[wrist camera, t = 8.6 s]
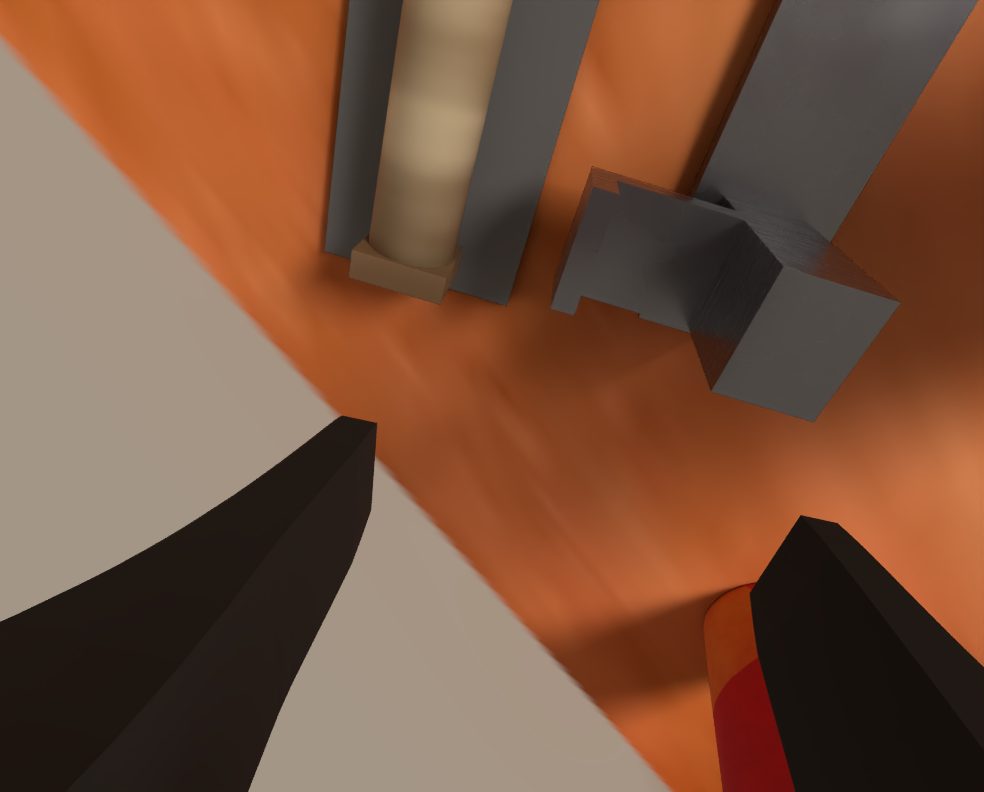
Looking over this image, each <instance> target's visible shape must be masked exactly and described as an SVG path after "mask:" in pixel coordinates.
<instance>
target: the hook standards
mask: <svg viewBox="0 0 984 792" xmlns="http://www.w3.org/2000/svg"><path fill="white" fill-rule="evenodd" d="M977 2H978V0H775V3H774V5H773V7H772V9H771V12H770V14H769V16H768V18H767V21H766V23H765V25H764V27H763V30H762V32H761V34H760V36H759V38H758V41H757V43H756V45H755V47H754V50H753V52H752V54H751V56H750V59H749V61H748V63H747V65H746V68H745V70H744V72H743V74H742V76H741V79H740V81H739V83H738V85H737V88H736V90H735V92H734V94H733V97H732V99H731V101H730V103H729V106H728V108H727V110H726V112H725V115H724V117H723V119H722V121H721V123H720V126H719V128H718V130H717V132H716V135H715V137H714V139H713V141H712V144H711V146H710V148H709V150H708V153H707V155H706V157H705V159H704V162H703V164H702V166H701V168H700V170H699V173H698V175H697V177H696V179H695V182H694V184H693V186H692V188H691V191H690V193H689V195H688V196H686V195H683V194H680V193H677V192H674V191H670V190H667V189H664V188H661V187H658V186H654V185H651V184H648V183H645V182H641V181H638V180H635V179H632V178H629V177H625V176H622V175H619V174H616V173H613V172H609V171H606V170H603V169H600V168H596V167H593V166H592V168H591V171H590V173H589V176H588V179H587V182H586V185H585V188H584V191H583V194H582V197H581V200H580V203H579V205H578V208H577V211H576V214H575V217H574V220H573V223H572V226H571V229H570V232H569V235H568V237H567V240H566V243H565V246H564V249H563V252H562V255H561V258H560V261H559V264H558V267H557V269H556V272H555V275H554V282H553V291H552V300H551V308H550V309H553V310H556V311H560V312H563V313H566V314H570V315H573V316H574V314H575V311H576V309H577V306H578V303H579V301H580V298H581V296H584V297H587V298H590V299H594V300H597V301H600V302H604V303H607V304H610V305H613V306H617V307H620V308H623V309H627V310H630V311H633V312H636V313H638V316H639V318H642V319H645V320H648V321H651V322H655V323H658V324H661V325H665V326H668V327H671V328H675V329H678V330H681V331H684V332H688V333H691V336H692V339H693V342H694V345H695V347H696V350H697V353H698V356H699V359H700V362H701V364H702V367H703V370H704V373H705V376H706V379H707V381H708V384H709V387H710V390H711V392H714V393H717V394H721V395H724V396H727V397H731V398H734V399H737V400H741V401H744V402H747V403H750V404H754V405H757V406H760V407H764V408H767V409H770V410H774V411H777V412H780V413H784V414H787V415H790V416H794V417H797V418H800V419H804V420H807V421H810V422H814V421H815V420H816V418H817V417H818V416H819V414H820V413H821V411H822V410H823V409H824V407H825V406H826V405H827V403H828V402H829V401H830V399H831V398H832V396H833V395H834V394H835V392H836V391H837V390H838V388H839V387H840V385H841V384H842V383H843V381H844V380H845V379H846V377H847V376H848V374H849V373H850V372H851V370H852V369H853V368H854V366H855V365H856V363H857V362H858V361H859V359H860V358H861V357H862V355H863V354H864V353H865V351H866V350H867V348H868V347H869V346H870V344H871V343H872V342H873V340H874V339H875V337H876V336H877V335H878V333H879V332H880V331H881V329H882V328H883V326H884V325H885V324H886V322H887V321H888V320H889V318H890V317H891V315H892V314H893V313H894V311H895V310H896V309H897V307H898V306H899V305H900V302H899V301H898V300H897V299H896V298H895V297H894V296H892V295H891V294H890V293H889V292H888V291H887V290H885V289H884V288H883V287H882V286H881V285H880V284H878V283H877V282H876V281H875V280H874V279H873V278H871V277H870V276H869V275H868V274H867V273H866V272H865V271H863V270H862V269H861V268H860V267H859V266H858V265H856V264H855V263H854V262H853V261H852V260H851V259H849V258H848V257H847V256H846V255H845V254H844V253H843V252H841V251H840V250H839V249H838V248H837V247H836V246H834V245H833V244H832V243H831V240H832V238H833V237H834V235H835V234H836V232H837V230H838V229H839V227H840V225H841V224H842V222H843V221H844V219H845V217H846V216H847V214H848V212H849V211H850V209H851V207H852V206H853V204H854V203H855V201H856V199H857V198H858V196H859V194H860V193H861V191H862V189H863V188H864V186H865V185H866V183H867V181H868V180H869V178H870V176H871V175H872V173H873V172H874V170H875V168H876V167H877V165H878V163H879V162H880V160H881V158H882V157H883V155H884V154H885V152H886V150H887V149H888V147H889V145H890V144H891V142H892V141H893V139H894V137H895V136H896V134H897V132H898V131H899V129H900V127H901V126H902V124H903V123H904V121H905V119H906V118H907V116H908V114H909V113H910V111H911V109H912V108H913V106H914V105H915V103H916V101H917V100H918V98H919V96H920V95H921V93H922V92H923V90H924V88H925V87H926V85H927V83H928V82H929V80H930V78H931V77H932V75H933V74H934V72H935V70H936V69H937V67H938V65H939V64H940V62H941V61H942V59H943V57H944V56H945V54H946V52H947V51H948V49H949V47H950V46H951V44H952V43H953V41H954V39H955V38H956V36H957V34H958V33H959V31H960V29H961V28H962V26H963V25H964V23H965V21H966V20H967V18H968V16H969V15H970V13H971V12H972V10H973V8H974V7H975V5H976V3H977Z"/></svg>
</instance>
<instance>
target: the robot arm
mask: <svg viewBox="0 0 984 792" xmlns="http://www.w3.org/2000/svg"><path fill="white" fill-rule="evenodd" d="M376 433H377V423H374V422H369V421H365V420H360V419H356V418H351V417H346V416H341V417H339V418H337V419H336V420H334V421H333V422H332V423H330V424H329V425H328V426H326V427H325V428H324V429H323V430H321V431H320V432H319V433H318V434H316V435H315V436H314V437H312V438H311V439H310V440H309V441H307V442H306V443H305V444H303V445H302V446H301V447H299V448H298V449H297V450H296V451H294V452H293V453H292V454H290V455H289V456H288V457H286V458H285V459H284V460H282V461H281V462H280V463H278V464H277V465H275V466H274V467H273V468H271V469H270V470H268V471H267V472H266V473H264V474H263V475H261V476H260V477H259V478H258V479H256V480H255V481H253V482H252V483H250V484H249V485H248V486H246V487H245V488H243V489H242V490H240V491H239V492H237V493H236V494H235V495H233V496H231V497H230V498H228V499H227V500H225V501H224V502H222V503H221V504H219V505H218V506H216V507H215V508H213V509H211V510H210V511H208V512H207V513H205V514H204V515H202V516H201V517H199V518H198V519H196V520H194V521H193V522H191V523H190V524H188V525H187V526H185V527H183V528H182V529H180V530H179V531H177V532H175V533H173V534H172V535H170V536H169V537H167V538H165V539H163V540H162V541H160V542H158V543H156V544H155V545H153V546H151V547H150V548H148V549H146V550H144V551H142V552H140V553H139V554H137V555H135V556H133V557H131V558H129V559H128V560H126V561H124V562H122V563H121V564H119V565H117V566H115V567H113V568H111V569H109V570H107V571H105V572H103V573H101V574H99V575H98V576H95V577H94V578H91V579H90V580H87V581H85V582H83V583H81V584H80V585H77V586H75V587H73V588H71V589H69V590H67V591H65V592H63V593H61V594H58V595H56V596H54V597H52V598H50V599H48V600H46V601H44V602H42V603H40V604H38V605H36V606H33V607H31V608H29V609H27V610H25V611H23V612H21V613H19V614H17V615H15V616H12V617H10V618H8V619H6V620H3V621H1V622H0V792H248V790H249V788H250V785H251V783H252V780H253V777H254V775H255V772H256V770H257V767H258V765H259V762H260V760H261V757H262V755H263V752H264V749H265V747H266V744H267V742H268V739H269V737H270V734H271V731H272V729H273V727H274V724H275V721H276V719H277V716H278V714H279V712H280V709H281V707H282V705H283V703H284V700H285V698H286V696H287V694H288V691H289V689H290V687H291V685H292V683H293V681H294V679H295V677H296V675H297V673H298V671H299V669H300V667H301V665H302V663H303V661H304V659H305V657H306V655H307V653H308V651H309V649H310V647H311V645H312V643H313V641H314V639H315V637H316V635H317V633H318V631H319V629H320V627H321V625H322V623H323V620H324V619H325V617H326V615H327V613H328V611H329V609H330V607H331V605H332V603H333V601H334V599H335V597H336V595H337V593H338V591H339V589H340V587H341V585H342V582H343V580H344V578H345V576H346V574H347V572H348V570H349V568H350V566H351V564H352V562H353V559H354V556H355V553H356V551H357V548H358V545H359V543H360V540H361V537H362V535H363V532H364V529H365V526H366V523H367V520H368V517H369V515H370V512H371V503H372V490H373V476H374V461H375V447H376ZM749 594H750V603H751V611H752V620H753V628H754V635H755V641H756V648H757V654H758V658H759V661H760V665H761V669H762V673H763V677H764V681H765V684H766V688H767V692H768V695H769V699H770V703H771V706H772V710H773V714H774V717H775V721H776V724H777V728H778V732H779V735H780V739H781V742H782V746H783V750H784V753H785V757H786V760H787V764H788V768H789V771H790V775H791V778H792V782H793V786H794V789H795V792H984V667H983V666H982V665H981V664H980V663H979V662H978V661H977V660H976V659H975V658H974V657H973V656H972V655H971V654H969V653H968V652H967V651H966V650H965V649H964V648H963V647H962V646H961V645H960V644H959V643H958V642H957V641H956V640H955V639H954V638H953V637H952V636H951V635H950V634H949V633H948V632H947V631H946V630H945V629H944V628H943V627H942V626H941V625H940V624H939V623H938V622H937V621H936V620H935V619H934V618H933V617H932V616H931V615H930V614H929V613H928V612H927V611H926V610H925V609H924V608H923V607H922V606H921V605H920V604H919V603H918V602H917V601H916V600H915V599H914V598H913V597H912V596H911V595H910V594H909V593H908V592H907V591H906V590H905V589H904V587H903V586H902V585H901V584H900V583H899V582H898V581H897V580H896V579H895V578H894V577H893V576H892V575H891V574H890V573H889V572H888V571H887V570H886V569H885V568H884V567H883V566H882V565H881V564H880V563H879V562H878V561H877V560H876V559H875V558H874V557H873V556H872V555H871V554H870V553H869V552H868V551H867V550H866V549H865V548H864V547H863V546H862V545H861V544H860V543H859V542H857V541H856V540H855V539H854V538H853V537H852V536H851V535H850V534H849V533H848V532H847V531H846V530H844V529H843V528H842V527H841V526H840V525H839V524H838V523H834V522H830V521H825V520H820V519H816V518H811V517H807V516H802V515H801V516H800V517H799V519H798V520H797V522H796V523H795V525H794V526H793V528H792V529H791V531H790V532H789V534H788V535H787V537H786V538H785V540H784V541H783V543H782V545H781V546H780V548H779V549H778V551H777V552H776V554H775V555H774V557H773V558H772V560H771V561H770V563H769V564H768V566H767V567H766V569H765V570H764V572H763V573H762V575H761V577H760V578H759V580H758V581H757V583H756V584H755V586H754V587H753V589H752V590H751V592H750V593H749Z"/></svg>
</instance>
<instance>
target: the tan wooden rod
mask: <svg viewBox="0 0 984 792" xmlns="http://www.w3.org/2000/svg"><path fill="white" fill-rule="evenodd" d="M512 2H513V0H403V5H402V12H401V19H400V26H399V32H398V39H397V46H396V53H395V60H394V67H393V74H392V81H391V88H390V95H389V102H388V109H387V116H386V123H385V130H384V137H383V144H382V151H381V158H380V165H379V172H378V179H377V186H376V193H375V200H374V207H373V214H372V221H371V228H370V233H369V234H368V235H367V236H366V237H365V238H364V239H363V240H362V241H361V242H360V243H359V244H358V245H357V246H355V247H354V248H353V249H352V254H351V262H350V269H349V278H352V279H356V280H359V281H362V282H366V283H369V284H372V285H376V286H379V287H382V288H386V289H389V290H392V291H396V292H399V293H402V294H406V295H409V296H412V297H415V298H419V299H422V300H425V301H429V302H432V303H435V304H439V305H440V304H441V303H442V301H443V299H444V297H445V295H446V293H447V291H448V289H449V287H450V285H451V283H452V281H453V279H454V277H455V275H456V273H457V271H458V267H459V263H460V259H461V255H462V251H463V247H461V246H458V245H456V243H457V238H458V234H459V230H460V226H461V221H462V217H463V213H464V208H465V204H466V200H467V195H468V191H469V187H470V183H471V178H472V174H473V170H474V165H475V161H476V157H477V153H478V148H479V144H480V140H481V135H482V131H483V127H484V123H485V118H486V114H487V110H488V105H489V101H490V97H491V93H492V88H493V84H494V80H495V75H496V71H497V67H498V62H499V58H500V54H501V50H502V45H503V41H504V37H505V32H506V28H507V24H508V20H509V15H510V11H511V7H512Z"/></svg>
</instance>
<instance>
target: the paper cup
mask: <svg viewBox="0 0 984 792" xmlns="http://www.w3.org/2000/svg"><path fill="white" fill-rule="evenodd" d="M755 584H756V583H753V584H749V585H745V586H742V587H739V588H736V589H734V590H731V591H729V592H727V593H726V594H724V595H722V596H721V597H719V598H718V599H717V600H716V601H715V602H714V603H713V604H712V605H711V606H710V607H709V609H708V610H707V612H706V615H705V618H704V641H705V651H706V660H707V669H708V677H709V686H710V694H711V702H712V710H713V718H714V726H715V733H716V741H717V749H718V757H719V764H720V772H721V780H722V788H723V792H795V789H794V786H793V782H792V778H791V775H790V771H789V768H788V764H787V760H786V757H785V753H784V750H783V746H782V742H781V739H780V735H779V732H778V728H777V724H776V721H775V717H774V714H773V710H772V706H771V703H770V699H769V695H768V692H767V688H766V684H765V681H764V677H763V673H762V669H761V665H760V661H759V658H758V654H757V648H756V641H755V635H754V628H753V620H752V611H751V603H750V594H749V593H750V592H751V590H752V589H753V587H754V586H755Z"/></svg>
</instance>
